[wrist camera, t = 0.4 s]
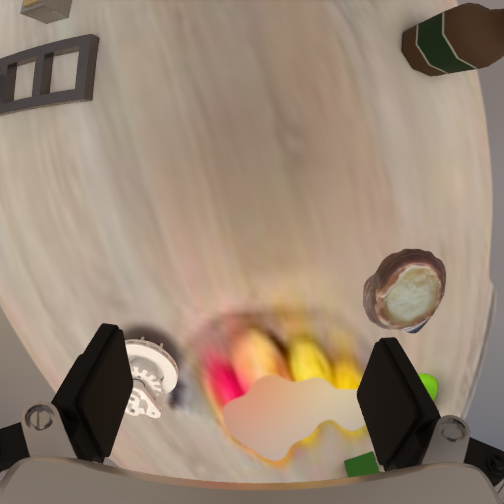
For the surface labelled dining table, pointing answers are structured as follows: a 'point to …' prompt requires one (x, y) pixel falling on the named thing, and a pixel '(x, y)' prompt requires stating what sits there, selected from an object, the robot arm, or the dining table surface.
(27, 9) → the brushed metal block
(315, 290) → the dining table surface
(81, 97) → the rail
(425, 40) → the beer bottle
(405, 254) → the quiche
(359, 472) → the hardback book
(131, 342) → the mechanical part
